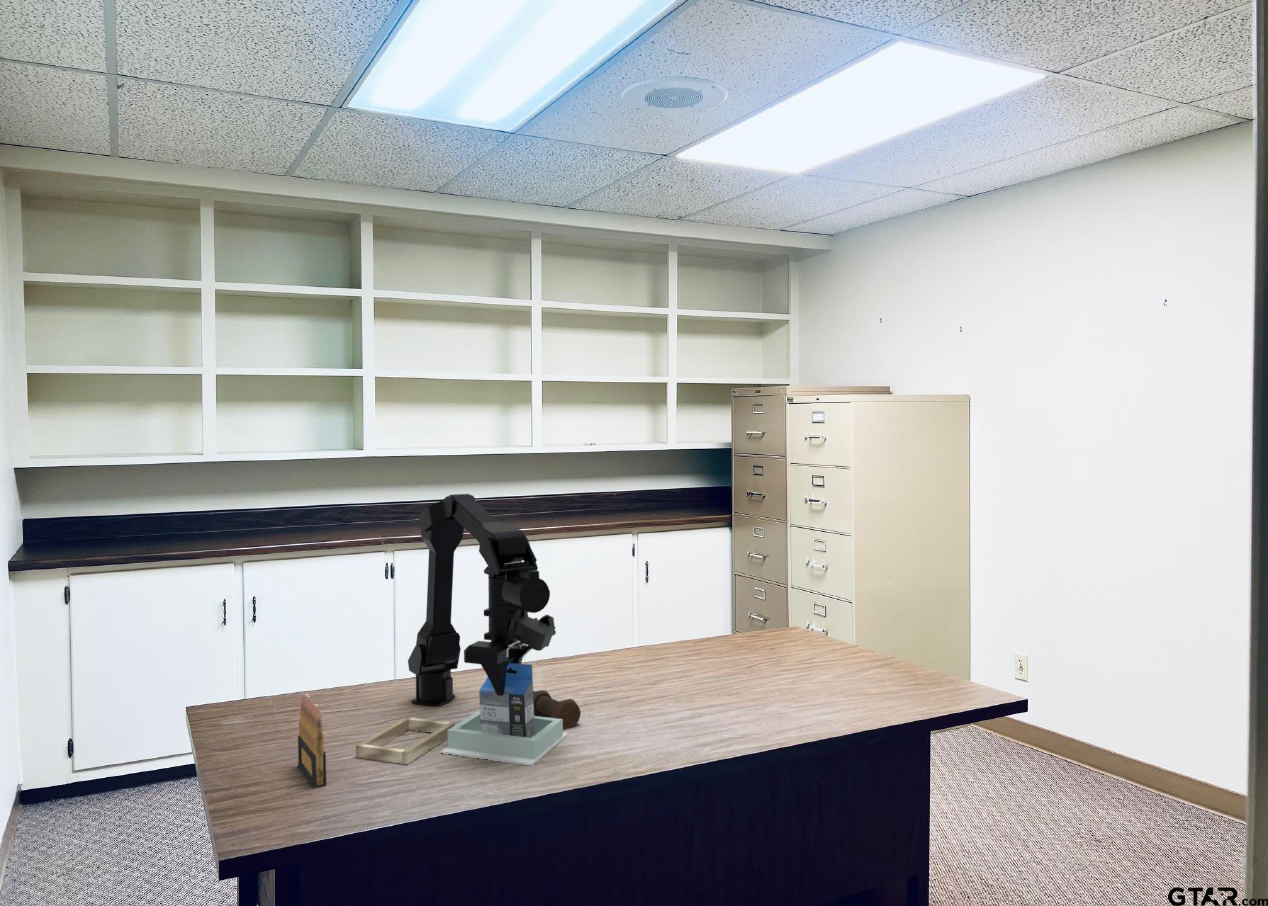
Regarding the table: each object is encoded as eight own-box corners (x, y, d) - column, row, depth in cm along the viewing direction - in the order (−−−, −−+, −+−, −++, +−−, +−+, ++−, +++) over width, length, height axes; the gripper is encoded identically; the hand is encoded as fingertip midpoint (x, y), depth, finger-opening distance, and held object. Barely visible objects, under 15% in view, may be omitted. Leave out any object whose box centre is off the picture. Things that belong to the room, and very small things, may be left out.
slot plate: (440, 753, 148) (440, 733, 148) (483, 724, 162) (483, 706, 162) (531, 766, 142) (531, 745, 142) (568, 735, 157) (568, 716, 156)
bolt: (532, 716, 173) (572, 735, 160) (512, 708, 170) (551, 726, 158) (544, 688, 174) (585, 705, 162) (525, 679, 172) (564, 695, 160)
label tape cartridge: (479, 737, 152) (476, 667, 151) (490, 730, 156) (487, 661, 155) (526, 742, 149) (523, 670, 149) (536, 734, 153) (533, 664, 152)
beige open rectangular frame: (355, 757, 146) (355, 745, 146) (406, 728, 160) (406, 717, 160) (407, 764, 143) (407, 752, 143) (454, 734, 157) (454, 723, 157)
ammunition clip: (297, 766, 143) (296, 693, 142) (309, 763, 144) (308, 691, 143) (314, 788, 134) (312, 710, 134) (326, 785, 135) (325, 708, 135)
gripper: (523, 617, 140) (523, 714, 141) (569, 595, 158) (569, 681, 158) (461, 612, 144) (462, 706, 144) (513, 591, 161) (513, 675, 162)
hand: (505, 692), depth 152 cm, fingers closed on label tape cartridge, 4 cm apart
